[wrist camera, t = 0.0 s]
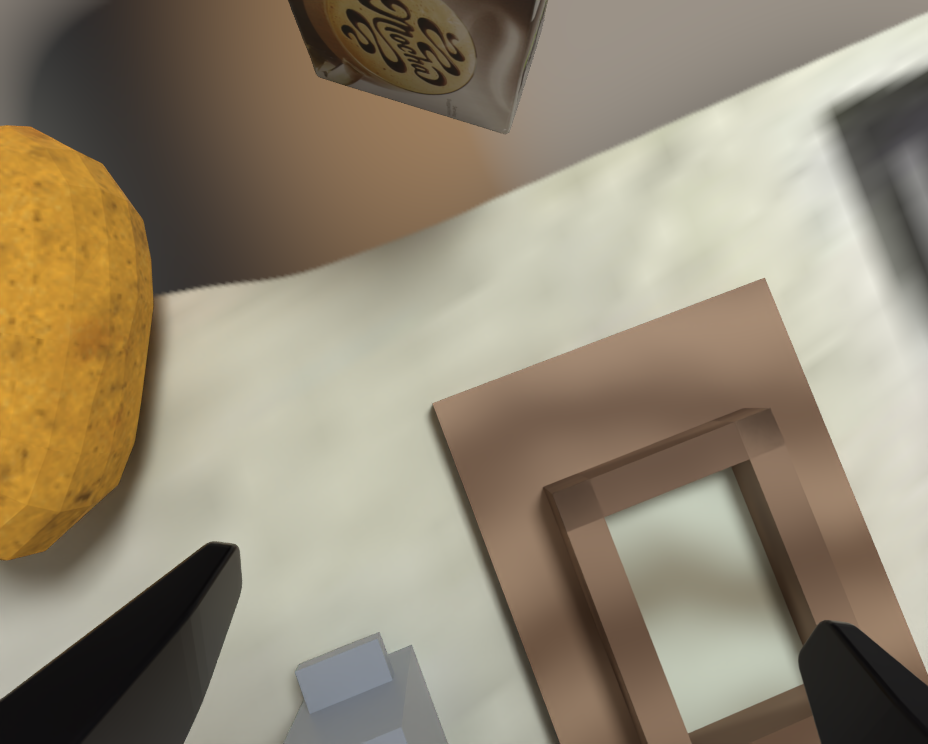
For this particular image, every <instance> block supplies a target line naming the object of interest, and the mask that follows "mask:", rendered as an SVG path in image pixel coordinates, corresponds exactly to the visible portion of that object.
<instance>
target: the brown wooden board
mask: <svg viewBox="0 0 928 744" xmlns="http://www.w3.org/2000/svg"><path fill="white" fill-rule="evenodd" d="M433 406H434V409H435V411H436V414H437V417H438V419H439V422H440V425H441V427H442V430H443V433H444V435H445V438H446V441H447V443H448V446H449V449H450V451H451V454H452V457H453V459H454V462H455V465H456V467H457V470H458V473H459V475H460V478H461V481H462V483H463V486H464V489H465V491H466V494H467V497H468V499H469V502H470V505H471V507H472V510H473V513H474V515H475V518H476V521H477V523H478V526H479V529H480V531H481V534H482V537H483V539H484V542H485V545H486V547H487V550H488V553H489V555H490V558H491V561H492V563H493V566H494V569H495V571H496V574H497V577H498V579H499V582H500V585H501V587H502V590H503V593H504V595H505V598H506V601H507V603H508V606H509V609H510V611H511V614H512V617H513V619H514V622H515V625H516V627H517V630H518V633H519V635H520V638H521V641H522V643H523V646H524V649H525V651H526V654H527V657H528V659H529V662H530V665H531V667H532V670H533V673H534V675H535V678H536V681H537V683H538V686H539V689H540V691H541V694H542V697H543V699H544V702H545V705H546V707H547V710H548V713H549V715H550V718H551V721H552V723H553V726H554V729H555V731H556V734H557V737H558V739H559V742H560V744H821V742H820V739H819V736H818V732H817V729H816V725H815V722H814V718H813V715H812V711H811V708H810V705H809V701H808V698H807V694H806V691H805V687H804V684H803V680H802V677H801V674H800V670H799V665H798V656H799V652H800V650H801V648H802V647H803V645H804V644H805V642H806V641H807V639H808V638H809V636H810V635H811V633H812V632H813V630H814V629H815V628H816V626H817V625H818V624H819V623H820V622H821V621H823V620H833V621H841V622H847V623H850V624H853V625H855V626H856V627H857V628H859V629H860V630H861V631H862V632H864V633H865V634H866V635H867V636H868V637H870V638H871V639H872V640H873V641H874V642H876V643H877V644H878V645H879V646H880V647H882V648H883V649H884V650H885V651H886V652H888V653H889V654H890V655H891V656H892V657H894V658H895V659H896V660H897V661H898V662H900V663H901V664H902V665H903V666H904V667H906V668H907V669H908V670H909V671H910V672H912V673H913V674H914V675H915V676H917V677H918V678H919V679H920V680H921V681H923V682H924V683H925V684H926V685H927V686H928V674H927V672H926V669H925V667H924V664H923V662H922V659H921V657H920V655H919V652H918V650H917V647H916V645H915V642H914V640H913V638H912V635H911V633H910V630H909V628H908V625H907V623H906V621H905V618H904V616H903V613H902V611H901V608H900V606H899V603H898V601H897V599H896V596H895V594H894V591H893V589H892V586H891V584H890V582H889V579H888V577H887V574H886V572H885V569H884V567H883V564H882V562H881V560H880V557H879V555H878V552H877V550H876V547H875V545H874V543H873V540H872V538H871V535H870V533H869V530H868V528H867V526H866V523H865V521H864V518H863V516H862V513H861V511H860V508H859V506H858V504H857V501H856V499H855V496H854V494H853V491H852V489H851V487H850V484H849V482H848V479H847V477H846V474H845V472H844V470H843V467H842V465H841V462H840V460H839V457H838V455H837V452H836V450H835V448H834V445H833V443H832V440H831V438H830V435H829V433H828V431H827V428H826V426H825V423H824V421H823V418H822V416H821V414H820V411H819V409H818V406H817V404H816V401H815V399H814V396H813V394H812V392H811V389H810V387H809V384H808V382H807V379H806V377H805V375H804V372H803V370H802V367H801V365H800V362H799V360H798V357H797V355H796V353H795V350H794V348H793V345H792V343H791V340H790V338H789V336H788V333H787V331H786V328H785V326H784V323H783V321H782V319H781V316H780V314H779V311H778V309H777V306H776V304H775V301H774V299H773V297H772V294H771V292H770V289H769V287H768V284H767V282H766V280H765V278H763V279H760V280H757V281H755V282H752V283H749V284H747V285H744V286H742V287H739V288H736V289H734V290H731V291H728V292H726V293H723V294H720V295H718V296H715V297H712V298H710V299H707V300H705V301H702V302H699V303H697V304H694V305H691V306H689V307H686V308H683V309H681V310H678V311H675V312H673V313H670V314H667V315H665V316H662V317H660V318H657V319H654V320H652V321H649V322H646V323H644V324H641V325H638V326H636V327H633V328H630V329H628V330H625V331H623V332H620V333H617V334H615V335H612V336H609V337H607V338H604V339H601V340H599V341H596V342H593V343H591V344H588V345H586V346H583V347H580V348H578V349H575V350H572V351H570V352H567V353H564V354H562V355H559V356H556V357H554V358H551V359H548V360H546V361H543V362H541V363H538V364H535V365H533V366H530V367H527V368H525V369H522V370H519V371H517V372H514V373H511V374H509V375H506V376H504V377H501V378H498V379H496V380H493V381H490V382H488V383H485V384H482V385H480V386H477V387H474V388H472V389H469V390H467V391H464V392H461V393H459V394H456V395H453V396H451V397H448V398H445V399H443V400H440V401H437V402H435V403H433Z"/></svg>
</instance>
